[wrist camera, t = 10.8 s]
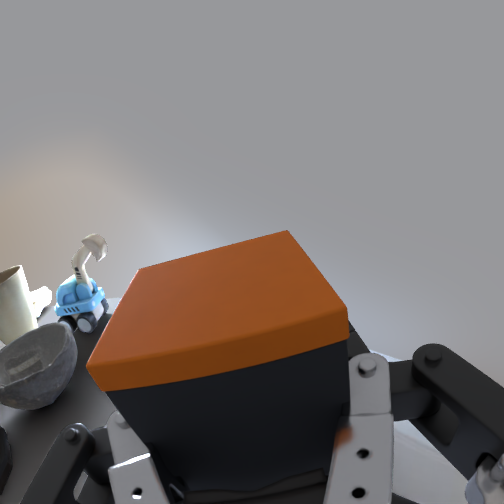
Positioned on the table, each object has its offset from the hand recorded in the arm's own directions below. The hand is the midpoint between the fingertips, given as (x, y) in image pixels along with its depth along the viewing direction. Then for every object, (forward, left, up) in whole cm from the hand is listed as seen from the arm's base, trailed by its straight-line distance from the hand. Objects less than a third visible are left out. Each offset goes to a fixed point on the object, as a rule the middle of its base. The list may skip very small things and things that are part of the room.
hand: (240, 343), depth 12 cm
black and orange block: (+1, +2, -6) cm, 7 cm away
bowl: (+17, -36, -18) cm, 44 cm away
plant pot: (+21, -58, -18) cm, 65 cm away
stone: (+18, -83, -18) cm, 87 cm away
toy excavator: (+3, -51, -18) cm, 55 cm away
